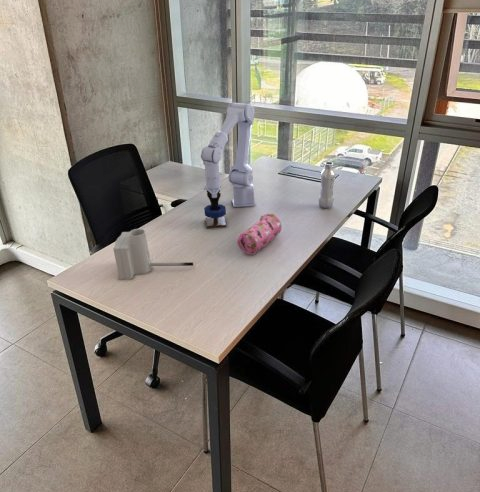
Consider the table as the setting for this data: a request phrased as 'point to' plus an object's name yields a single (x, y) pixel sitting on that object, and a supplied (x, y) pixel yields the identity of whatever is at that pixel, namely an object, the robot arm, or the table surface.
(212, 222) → the stand
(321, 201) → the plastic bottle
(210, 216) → the ring
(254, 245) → the pencil case
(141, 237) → the electronic device
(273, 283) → the table surface
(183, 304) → the table surface
